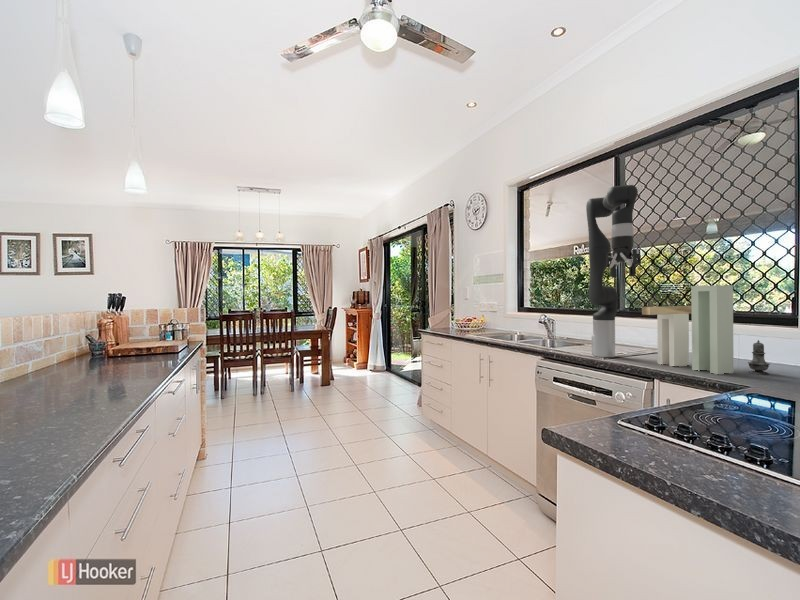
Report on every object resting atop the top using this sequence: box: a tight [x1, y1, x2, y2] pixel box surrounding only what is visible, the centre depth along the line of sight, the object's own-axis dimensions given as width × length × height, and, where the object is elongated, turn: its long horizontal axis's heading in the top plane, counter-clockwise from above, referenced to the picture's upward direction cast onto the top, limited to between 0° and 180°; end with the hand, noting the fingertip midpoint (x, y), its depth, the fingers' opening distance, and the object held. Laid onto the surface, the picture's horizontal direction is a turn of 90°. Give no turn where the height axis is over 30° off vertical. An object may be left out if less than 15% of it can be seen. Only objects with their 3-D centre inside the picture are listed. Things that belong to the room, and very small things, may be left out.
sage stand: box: [690, 284, 735, 375], centre depth 141 cm, size 9×8×32 cm
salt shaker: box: [747, 339, 771, 376], centre depth 137 cm, size 6×6×12 cm
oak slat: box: [641, 305, 692, 316], centre depth 155 cm, size 4×28×3 cm, turn 106°
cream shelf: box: [656, 314, 690, 367], centre depth 155 cm, size 7×8×21 cm
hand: (622, 277), depth 150 cm, fingers open, 8 cm apart
